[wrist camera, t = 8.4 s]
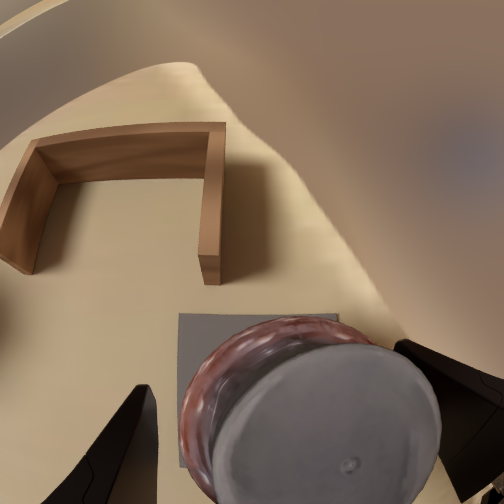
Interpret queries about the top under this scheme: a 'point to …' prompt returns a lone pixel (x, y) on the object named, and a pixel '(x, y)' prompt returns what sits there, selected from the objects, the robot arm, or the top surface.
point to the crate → (115, 168)
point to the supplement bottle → (309, 418)
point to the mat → (209, 344)
